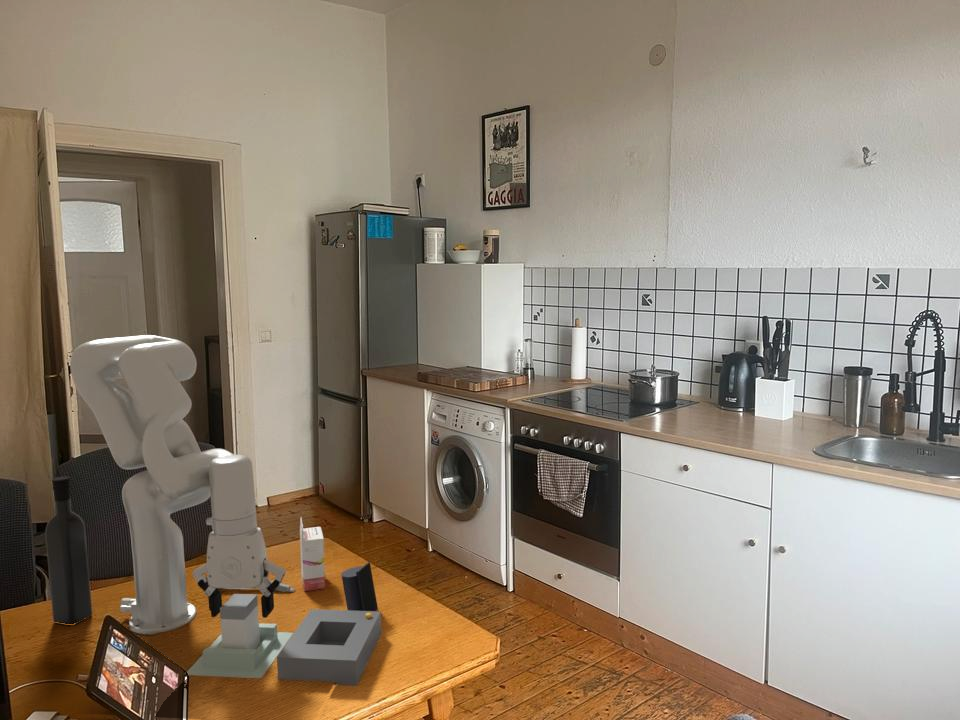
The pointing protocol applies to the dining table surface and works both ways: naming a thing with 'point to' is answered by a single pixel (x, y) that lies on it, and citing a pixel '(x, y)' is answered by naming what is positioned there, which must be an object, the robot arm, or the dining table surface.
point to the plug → (240, 622)
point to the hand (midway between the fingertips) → (242, 614)
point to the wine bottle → (67, 559)
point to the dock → (330, 646)
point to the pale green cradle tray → (242, 656)
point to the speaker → (359, 589)
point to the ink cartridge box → (312, 558)
